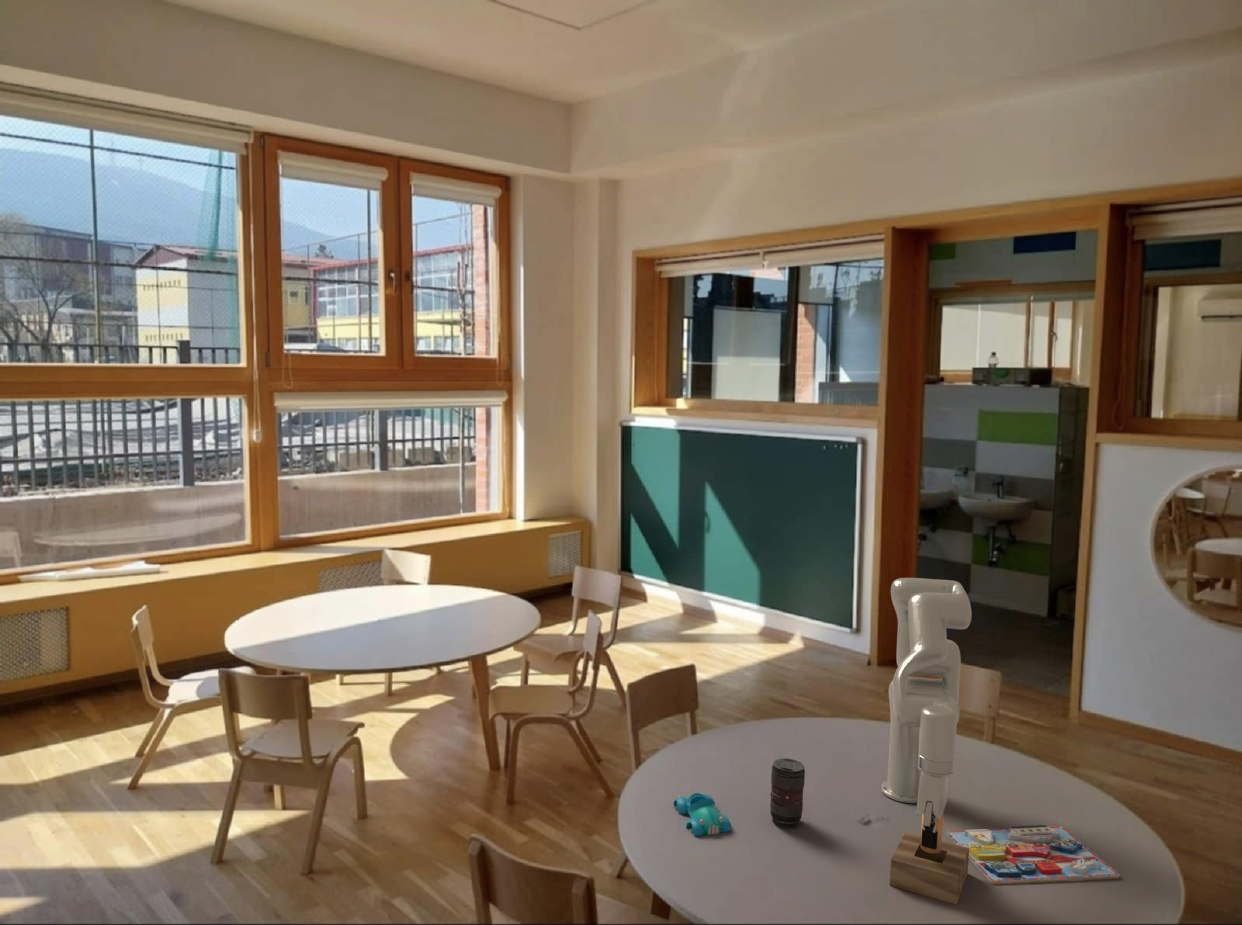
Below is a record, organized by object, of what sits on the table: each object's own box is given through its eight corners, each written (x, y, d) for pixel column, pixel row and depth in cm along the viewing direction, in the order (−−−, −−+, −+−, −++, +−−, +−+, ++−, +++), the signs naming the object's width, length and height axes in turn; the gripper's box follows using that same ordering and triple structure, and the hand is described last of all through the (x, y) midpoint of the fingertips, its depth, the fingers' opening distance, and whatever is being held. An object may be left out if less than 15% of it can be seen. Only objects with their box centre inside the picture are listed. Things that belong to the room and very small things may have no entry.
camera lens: (802, 831, 225) (805, 772, 224) (768, 828, 227) (771, 769, 225) (802, 816, 233) (805, 759, 232) (770, 812, 235) (772, 755, 233)
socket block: (904, 856, 215) (905, 831, 214) (967, 873, 208) (969, 848, 208) (889, 885, 203) (891, 859, 202) (956, 904, 196) (958, 877, 195)
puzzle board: (1061, 830, 230) (1062, 820, 230) (1120, 881, 207) (1121, 870, 207) (944, 834, 227) (944, 824, 226) (991, 887, 204) (991, 876, 204)
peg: (922, 841, 208) (924, 807, 207) (943, 846, 206) (945, 812, 205) (918, 849, 204) (920, 815, 203) (939, 855, 202) (941, 820, 201)
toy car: (692, 839, 222) (693, 812, 221) (669, 804, 239) (669, 779, 238) (734, 833, 225) (735, 807, 224) (708, 799, 242) (709, 775, 241)
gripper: (926, 745, 212) (921, 821, 214) (909, 773, 197) (905, 854, 199) (960, 753, 208) (955, 830, 210) (946, 781, 194) (941, 864, 196)
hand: (931, 841), depth 205 cm, fingers closed on peg, 4 cm apart
